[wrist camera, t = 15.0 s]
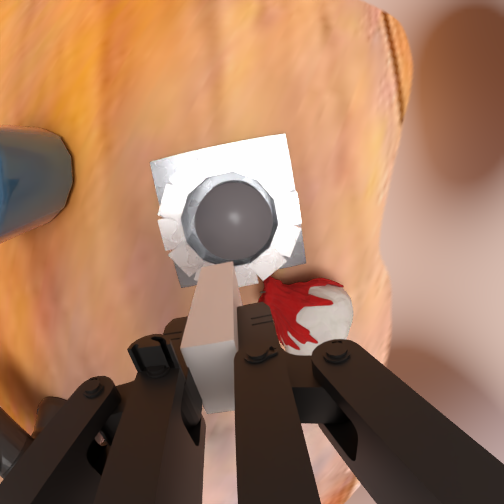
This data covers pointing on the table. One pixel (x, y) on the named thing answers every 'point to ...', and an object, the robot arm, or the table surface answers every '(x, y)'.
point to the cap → (233, 220)
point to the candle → (308, 312)
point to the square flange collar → (209, 175)
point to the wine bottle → (31, 178)
